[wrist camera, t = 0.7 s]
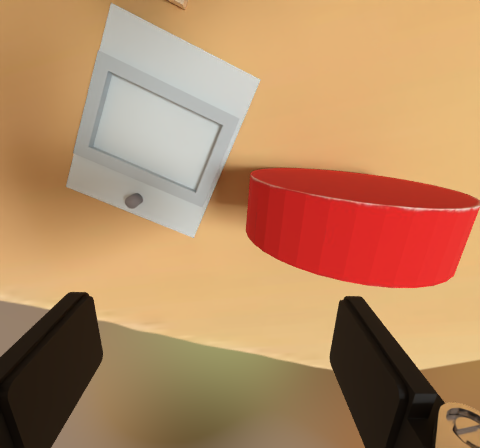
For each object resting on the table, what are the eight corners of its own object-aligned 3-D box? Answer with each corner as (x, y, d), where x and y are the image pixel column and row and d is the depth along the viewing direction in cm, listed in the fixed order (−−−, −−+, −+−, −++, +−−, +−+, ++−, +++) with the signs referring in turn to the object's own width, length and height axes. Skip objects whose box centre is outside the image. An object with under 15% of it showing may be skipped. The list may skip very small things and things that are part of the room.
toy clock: (242, 206, 37) (251, 280, 18) (246, 164, 35) (259, 197, 16) (381, 215, 38) (527, 295, 19) (391, 174, 36) (565, 218, 17)
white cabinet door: (114, 6, 29) (102, -7, 27) (259, 81, 32) (262, 76, 29) (70, 185, 36) (56, 189, 33) (194, 235, 38) (191, 243, 35)
